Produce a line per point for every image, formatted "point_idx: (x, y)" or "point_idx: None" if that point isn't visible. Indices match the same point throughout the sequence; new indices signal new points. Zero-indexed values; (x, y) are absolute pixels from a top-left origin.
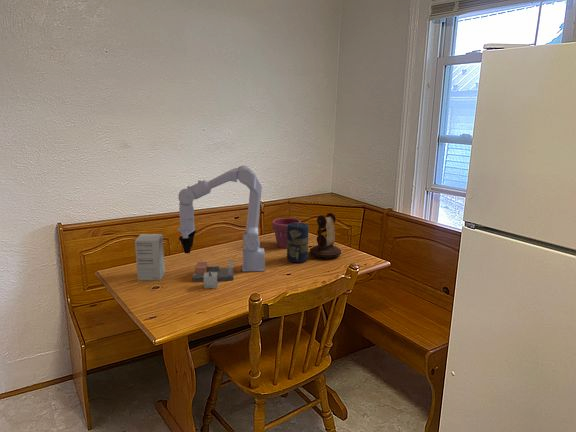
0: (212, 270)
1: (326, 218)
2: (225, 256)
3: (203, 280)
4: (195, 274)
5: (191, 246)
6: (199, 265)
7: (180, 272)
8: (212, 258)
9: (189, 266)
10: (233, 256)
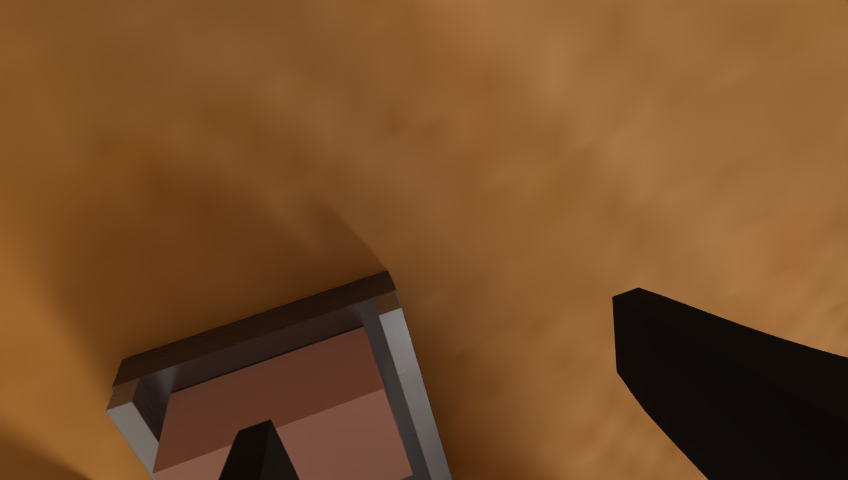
0: None
1: None
2: (788, 334)
3: None
4: (137, 427)
5: (628, 373)
6: None
7: (351, 106)
8: (758, 256)
9: (552, 130)
10: None
